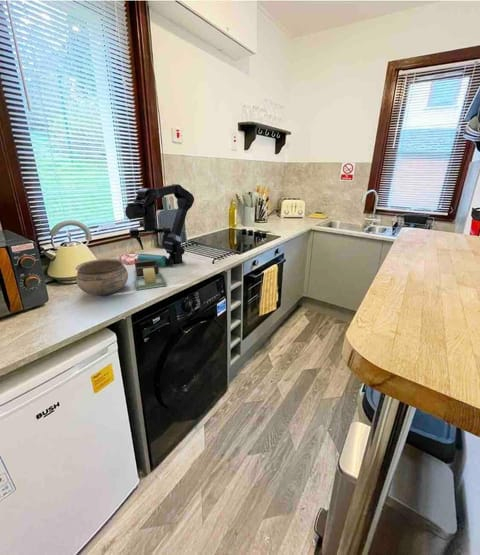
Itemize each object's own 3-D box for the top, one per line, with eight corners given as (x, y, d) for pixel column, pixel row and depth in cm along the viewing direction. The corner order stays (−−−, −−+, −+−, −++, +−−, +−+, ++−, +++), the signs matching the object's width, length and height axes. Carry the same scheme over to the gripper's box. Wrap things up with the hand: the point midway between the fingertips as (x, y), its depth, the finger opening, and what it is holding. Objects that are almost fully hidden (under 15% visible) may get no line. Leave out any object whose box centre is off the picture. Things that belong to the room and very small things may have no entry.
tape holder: (135, 270, 139) (134, 261, 137) (156, 268, 142) (155, 258, 141) (137, 280, 127) (136, 270, 125) (159, 277, 130) (158, 267, 129)
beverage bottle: (133, 262, 142) (168, 265, 137) (136, 250, 144) (171, 253, 139) (139, 267, 148) (173, 270, 143) (142, 255, 150) (176, 258, 145)
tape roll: (143, 279, 124) (142, 265, 121) (154, 277, 126) (153, 264, 122) (145, 287, 119) (143, 273, 115) (156, 286, 121) (155, 272, 117)
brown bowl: (66, 294, 112) (59, 266, 108) (108, 279, 127) (103, 254, 123) (103, 309, 100) (97, 278, 96) (144, 291, 115) (141, 264, 111)
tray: (162, 277, 130) (161, 273, 129) (166, 286, 120) (165, 282, 119) (135, 281, 125) (134, 277, 124) (136, 290, 116) (136, 286, 115)
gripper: (166, 213, 137) (169, 243, 143) (127, 215, 130) (131, 246, 136) (170, 216, 128) (173, 248, 133) (127, 218, 121) (132, 252, 126)
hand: (152, 248), depth 132 cm, fingers open, 9 cm apart
